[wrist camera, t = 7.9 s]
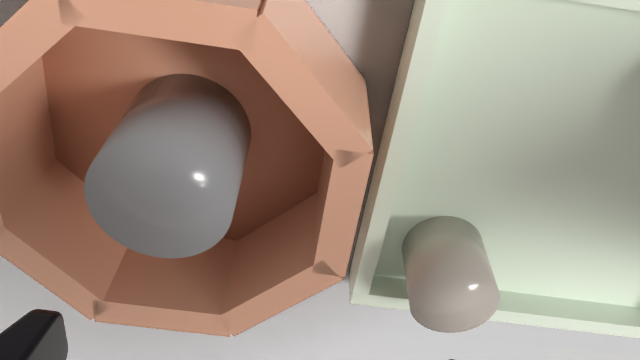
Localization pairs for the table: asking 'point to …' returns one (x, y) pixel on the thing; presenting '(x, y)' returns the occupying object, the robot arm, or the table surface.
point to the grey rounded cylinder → (171, 168)
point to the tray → (517, 157)
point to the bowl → (258, 177)
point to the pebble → (448, 275)
